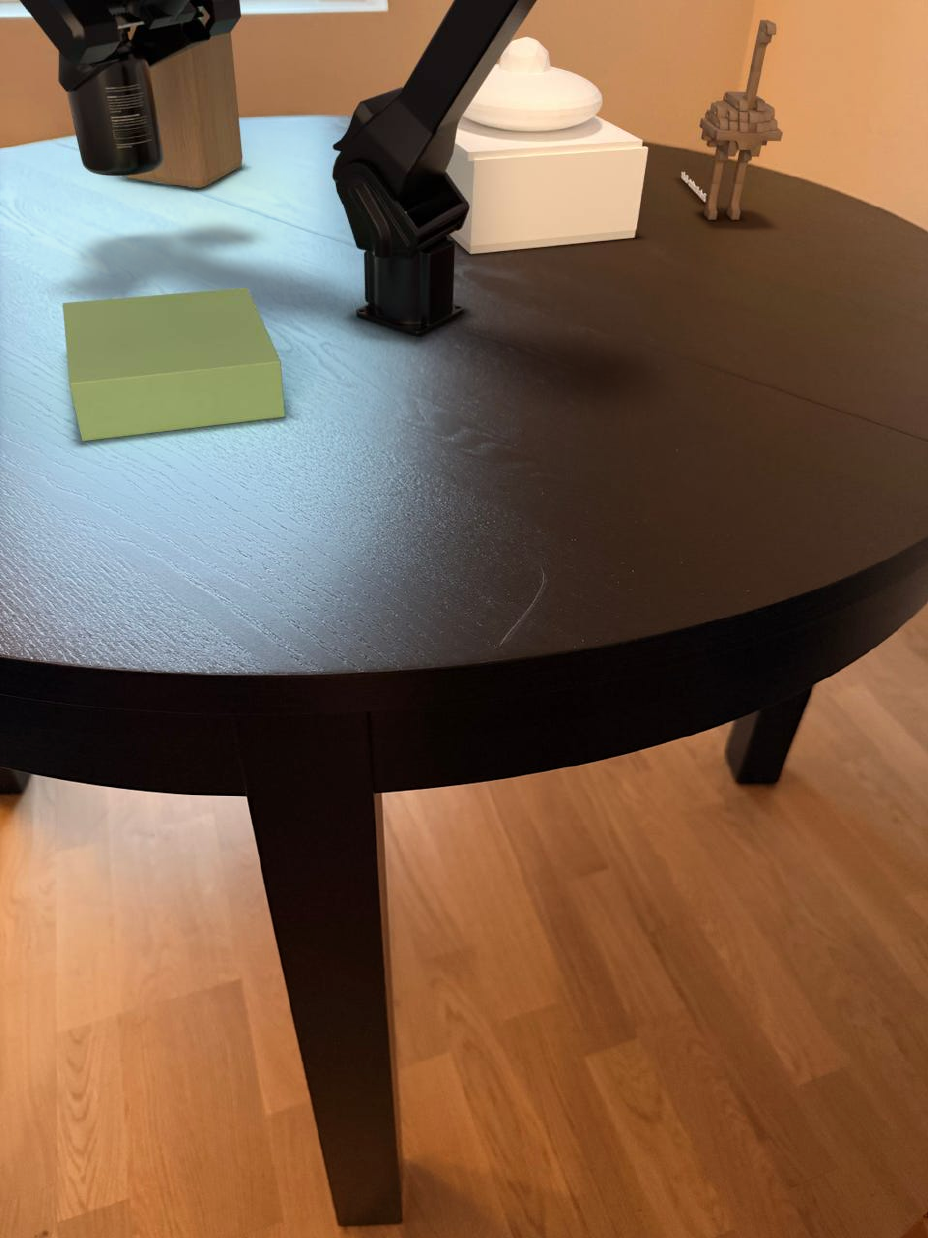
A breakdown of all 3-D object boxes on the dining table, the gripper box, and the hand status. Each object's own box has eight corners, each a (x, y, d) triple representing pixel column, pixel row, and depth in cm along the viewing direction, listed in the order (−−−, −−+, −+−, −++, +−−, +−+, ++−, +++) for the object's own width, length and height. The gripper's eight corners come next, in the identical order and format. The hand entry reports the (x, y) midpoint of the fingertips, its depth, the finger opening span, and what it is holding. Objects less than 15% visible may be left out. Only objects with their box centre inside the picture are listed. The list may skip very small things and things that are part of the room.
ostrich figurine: (763, 228, 102) (809, 25, 90) (700, 228, 101) (738, 23, 89) (710, 178, 114) (745, -5, 103) (654, 178, 114) (682, -6, 102)
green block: (252, 338, 76) (247, 286, 74) (285, 417, 67) (280, 361, 64) (74, 355, 73) (62, 302, 70) (82, 441, 63) (69, 383, 61)
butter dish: (635, 237, 98) (661, 53, 88) (465, 254, 92) (472, 60, 82) (557, 184, 110) (573, 18, 100) (403, 197, 105) (403, 22, 95)
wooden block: (117, 179, 105) (79, -47, 93) (166, 155, 113) (137, -57, 100) (203, 191, 103) (176, -38, 91) (247, 166, 111) (227, -49, 98)
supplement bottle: (169, 155, 89) (146, -2, 81) (158, 178, 84) (132, 12, 76) (90, 155, 88) (59, -3, 81) (74, 177, 83) (39, 10, 75)
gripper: (192, -177, 76) (110, -21, 87) (0, -179, 63) (-68, 5, 74) (285, -46, 79) (194, 91, 89) (118, -22, 66) (35, 135, 76)
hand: (96, 78), depth 82 cm, fingers closed on supplement bottle, 7 cm apart
